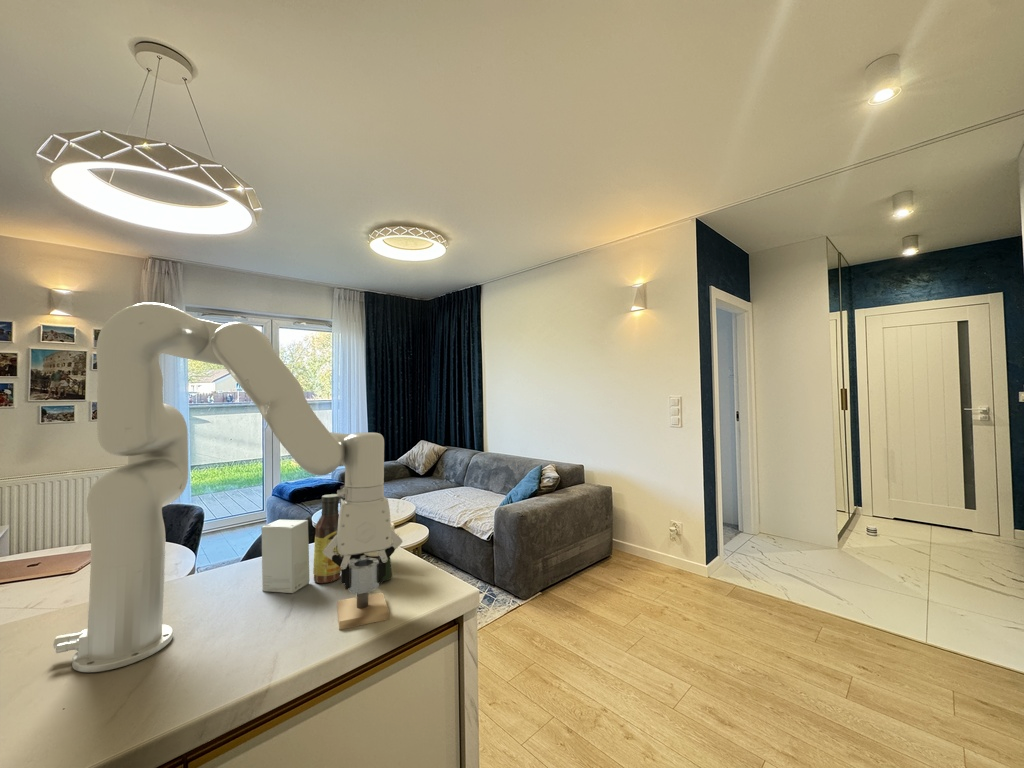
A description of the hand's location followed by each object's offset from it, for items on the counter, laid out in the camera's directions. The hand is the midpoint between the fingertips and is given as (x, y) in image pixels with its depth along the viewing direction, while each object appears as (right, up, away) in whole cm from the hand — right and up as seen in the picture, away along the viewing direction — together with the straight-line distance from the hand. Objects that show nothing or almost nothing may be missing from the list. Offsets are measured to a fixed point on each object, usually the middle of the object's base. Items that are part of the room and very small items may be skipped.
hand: (363, 582), depth 84 cm
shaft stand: (0, -6, 0) cm, 6 cm away
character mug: (-2, -7, +15) cm, 17 cm away
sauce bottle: (-15, -7, +16) cm, 23 cm away
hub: (0, -1, 0) cm, 1 cm away
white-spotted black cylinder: (-12, -8, +27) cm, 31 cm away
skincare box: (-22, -7, +11) cm, 26 cm away
